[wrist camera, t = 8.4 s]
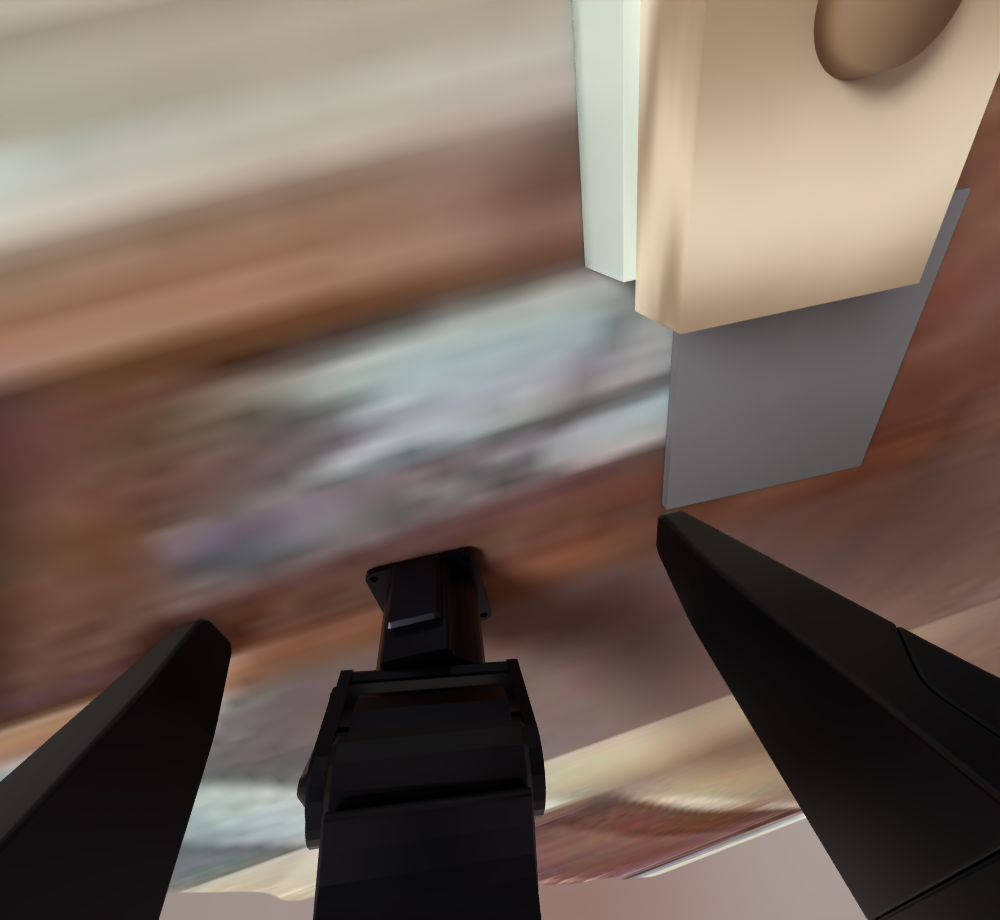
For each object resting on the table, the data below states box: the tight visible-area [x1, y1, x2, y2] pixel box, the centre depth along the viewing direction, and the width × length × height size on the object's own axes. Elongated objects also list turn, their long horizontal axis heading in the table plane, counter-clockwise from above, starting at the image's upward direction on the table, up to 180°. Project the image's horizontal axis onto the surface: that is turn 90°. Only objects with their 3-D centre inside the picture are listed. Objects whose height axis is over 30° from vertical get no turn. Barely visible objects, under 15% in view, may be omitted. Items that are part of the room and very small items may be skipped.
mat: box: [662, 187, 971, 510], centre depth 20 cm, size 14×12×1 cm
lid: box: [635, 0, 1000, 334], centre depth 9 cm, size 12×7×4 cm, turn 10°
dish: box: [572, 0, 640, 282], centre depth 12 cm, size 10×8×4 cm
